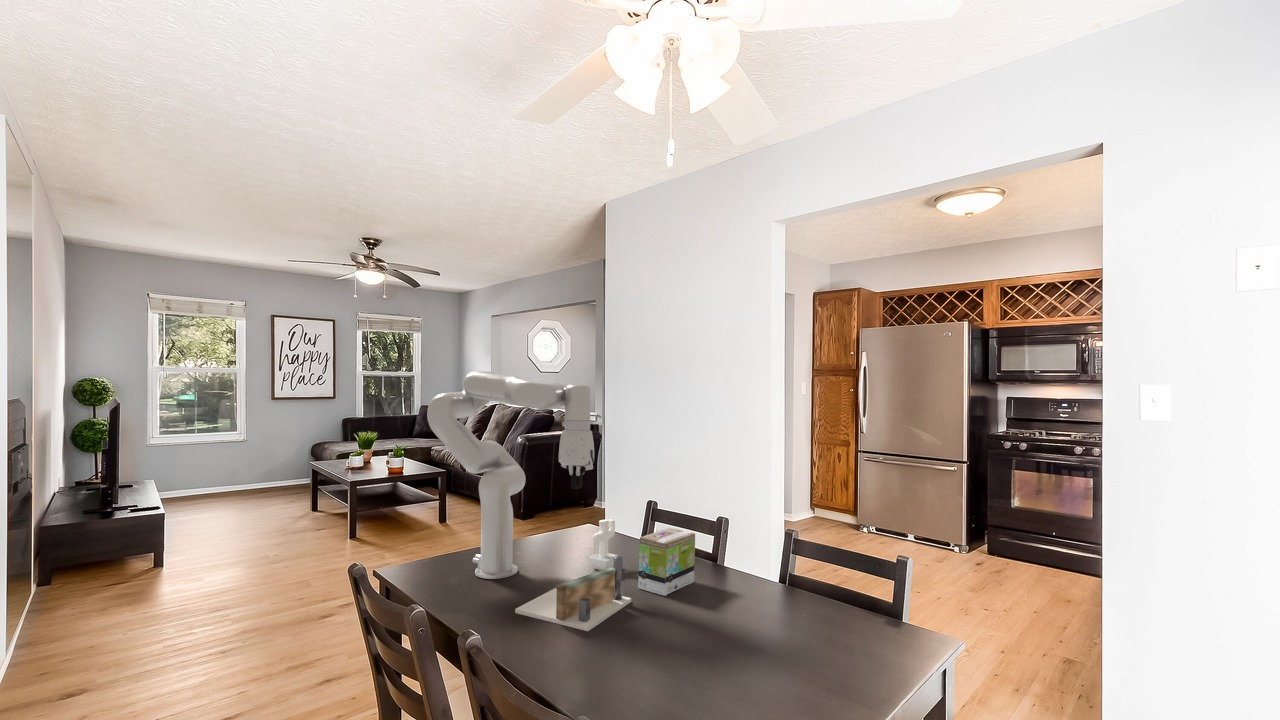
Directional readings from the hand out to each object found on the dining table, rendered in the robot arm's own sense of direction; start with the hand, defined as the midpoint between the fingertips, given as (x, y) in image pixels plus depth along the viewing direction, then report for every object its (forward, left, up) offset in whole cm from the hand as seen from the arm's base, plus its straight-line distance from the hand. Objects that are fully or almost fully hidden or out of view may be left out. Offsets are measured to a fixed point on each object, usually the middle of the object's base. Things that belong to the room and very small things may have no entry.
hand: (576, 488), depth 175 cm
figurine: (+1, +14, -27) cm, 31 cm away
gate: (+16, -19, -26) cm, 36 cm away
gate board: (+11, -16, -27) cm, 34 cm away
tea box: (+25, +10, -27) cm, 38 cm away
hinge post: (+19, -16, -27) cm, 37 cm away
